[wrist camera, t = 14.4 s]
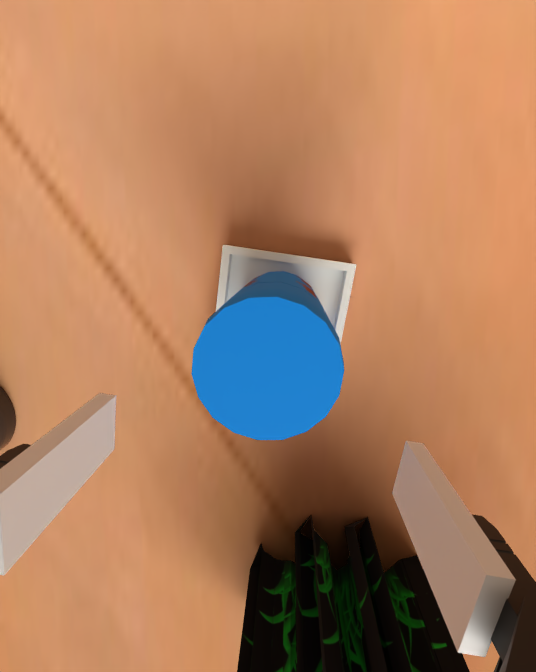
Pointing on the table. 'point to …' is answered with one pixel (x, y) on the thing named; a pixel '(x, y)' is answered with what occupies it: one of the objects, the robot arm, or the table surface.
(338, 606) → the decorative plant
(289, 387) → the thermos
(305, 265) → the tray
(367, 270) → the table surface
